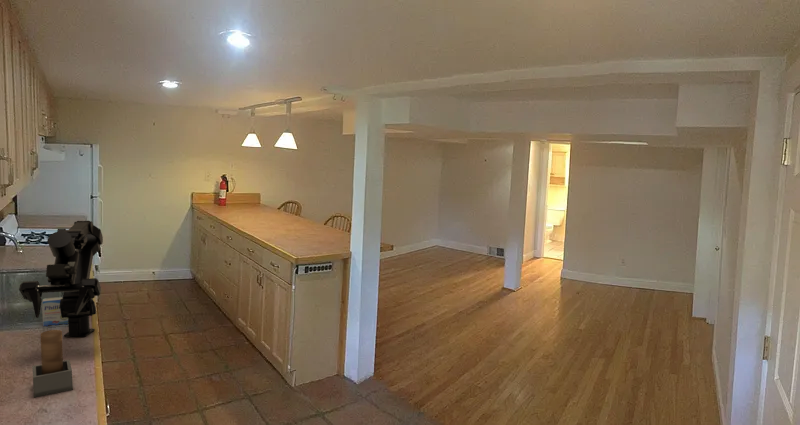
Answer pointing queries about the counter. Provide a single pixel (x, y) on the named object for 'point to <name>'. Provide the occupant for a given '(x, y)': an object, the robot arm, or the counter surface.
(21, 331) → the counter surface
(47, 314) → the medicine box
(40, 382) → the socket cup
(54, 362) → the walnut peg
